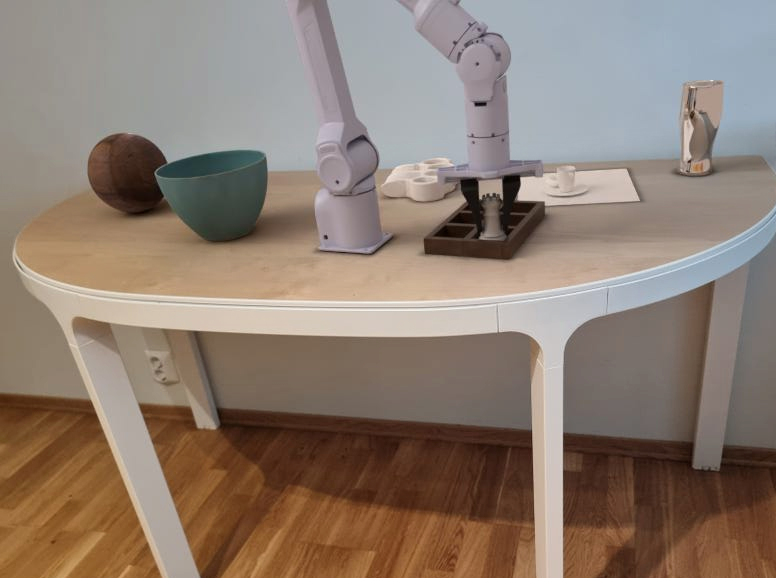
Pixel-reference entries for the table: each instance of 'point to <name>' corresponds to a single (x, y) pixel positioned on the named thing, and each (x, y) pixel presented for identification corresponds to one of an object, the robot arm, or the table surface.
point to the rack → (462, 235)
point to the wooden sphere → (126, 172)
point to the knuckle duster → (418, 181)
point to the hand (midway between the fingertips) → (492, 229)
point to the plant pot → (217, 191)
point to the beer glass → (699, 125)
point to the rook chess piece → (492, 218)
